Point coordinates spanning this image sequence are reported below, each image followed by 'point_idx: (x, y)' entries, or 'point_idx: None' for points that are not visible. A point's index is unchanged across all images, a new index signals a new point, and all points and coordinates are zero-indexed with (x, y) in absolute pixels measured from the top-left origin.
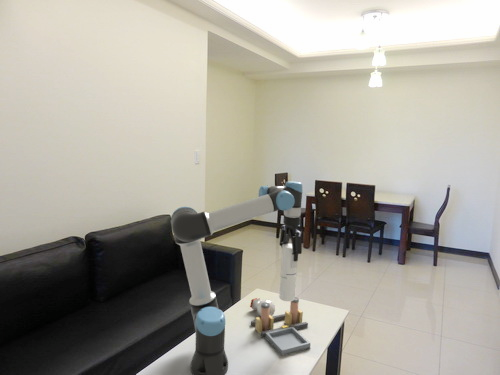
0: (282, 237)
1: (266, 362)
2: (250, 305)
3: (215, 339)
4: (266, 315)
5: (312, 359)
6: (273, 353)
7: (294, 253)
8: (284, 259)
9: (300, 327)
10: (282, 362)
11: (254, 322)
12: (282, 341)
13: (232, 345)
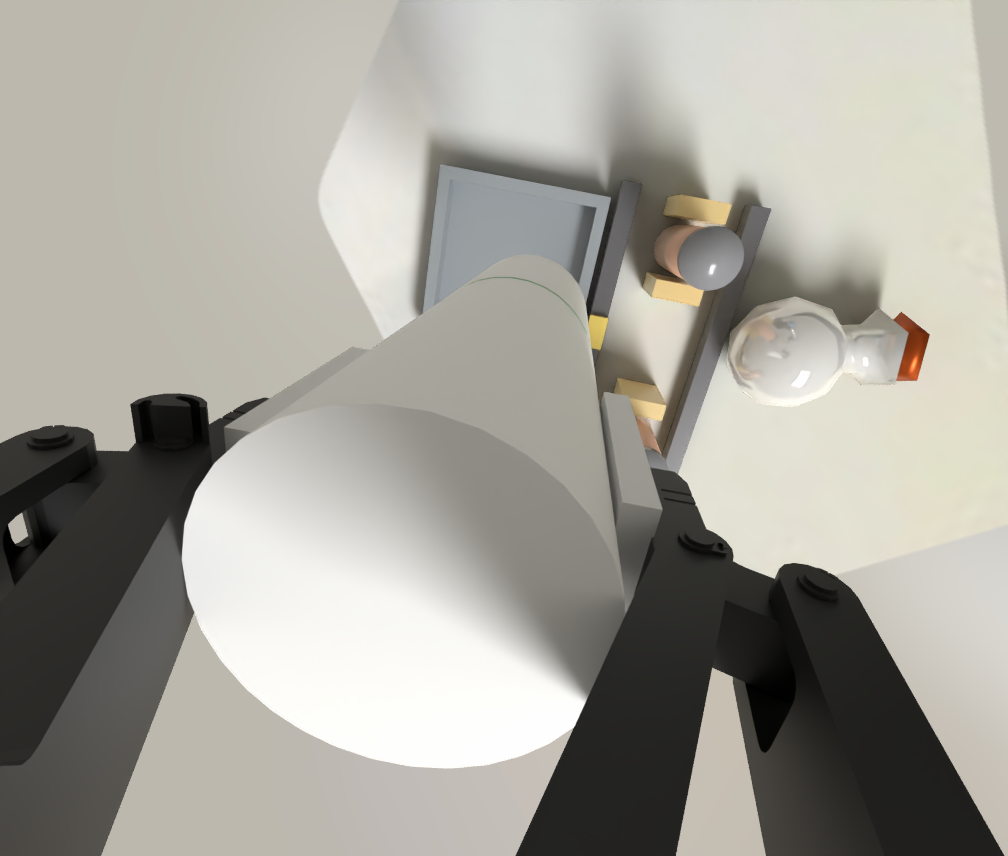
0: (849, 830)
1: (443, 56)
2: (905, 316)
3: None
4: (671, 246)
5: (361, 275)
6: (482, 142)
7: (143, 433)
8: (440, 322)
9: None
10: (405, 133)
11: (746, 220)
12: (526, 247)
13: None
